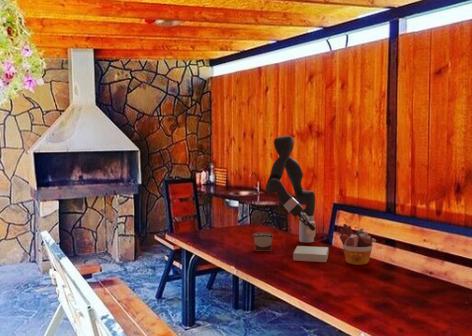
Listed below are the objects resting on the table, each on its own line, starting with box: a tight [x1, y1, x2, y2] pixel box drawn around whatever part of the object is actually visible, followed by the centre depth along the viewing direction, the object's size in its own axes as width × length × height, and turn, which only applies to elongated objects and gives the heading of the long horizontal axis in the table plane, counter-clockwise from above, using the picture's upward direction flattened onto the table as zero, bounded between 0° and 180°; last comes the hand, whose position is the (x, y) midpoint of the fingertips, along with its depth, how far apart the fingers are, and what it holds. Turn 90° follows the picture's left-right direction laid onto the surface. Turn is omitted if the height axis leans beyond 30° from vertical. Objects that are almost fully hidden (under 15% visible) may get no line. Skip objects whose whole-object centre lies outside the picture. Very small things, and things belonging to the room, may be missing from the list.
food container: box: [252, 232, 274, 252], centre depth 291 cm, size 12×6×10 cm, turn 84°
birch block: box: [307, 221, 317, 238], centre depth 271 cm, size 4×4×8 cm
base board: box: [292, 245, 329, 263], centre depth 272 cm, size 18×18×4 cm
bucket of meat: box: [339, 223, 377, 266], centre depth 259 cm, size 20×16×20 cm
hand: (314, 228), depth 270 cm, fingers closed on birch block, 4 cm apart
